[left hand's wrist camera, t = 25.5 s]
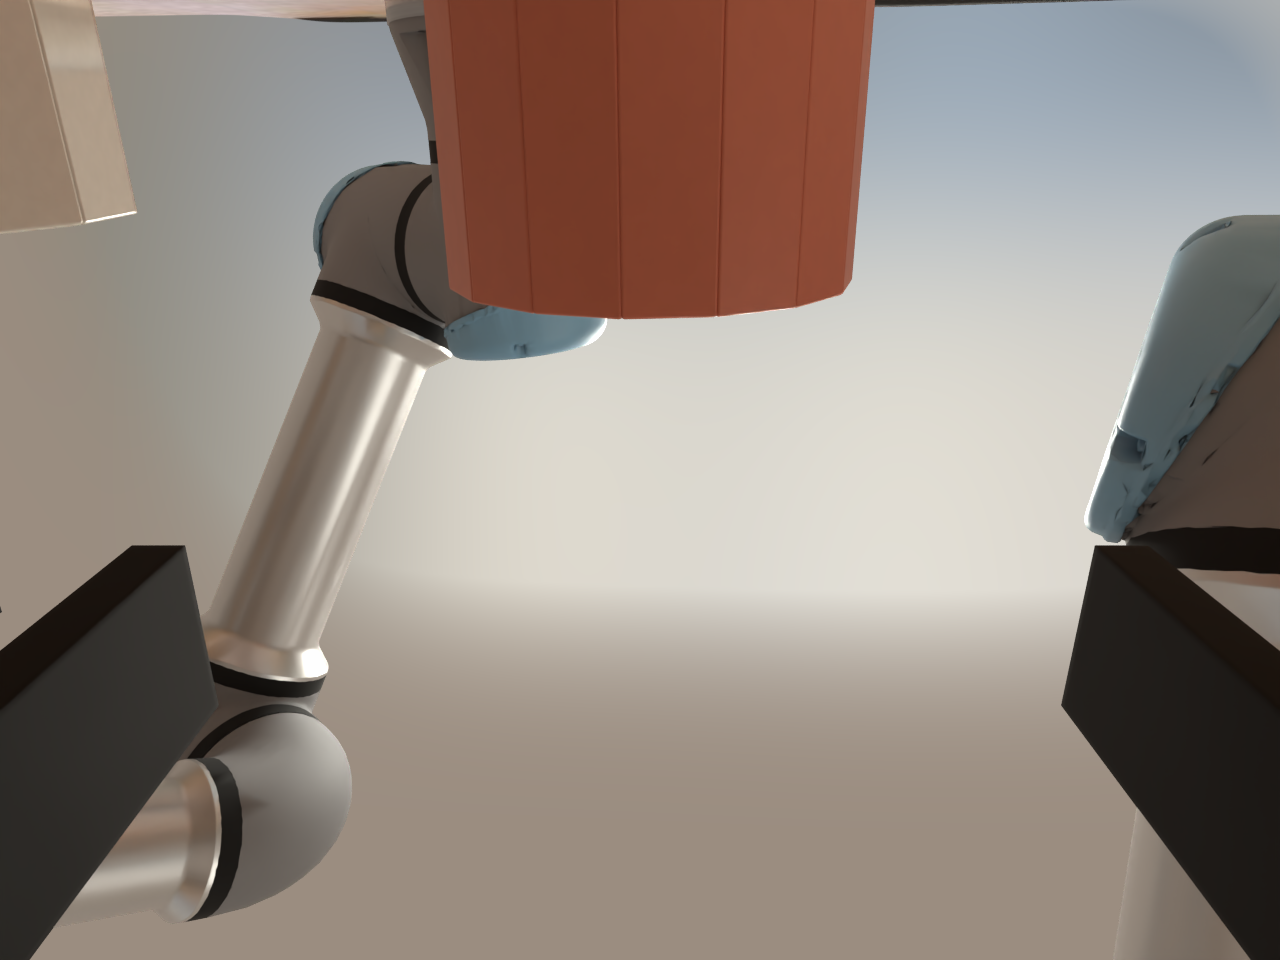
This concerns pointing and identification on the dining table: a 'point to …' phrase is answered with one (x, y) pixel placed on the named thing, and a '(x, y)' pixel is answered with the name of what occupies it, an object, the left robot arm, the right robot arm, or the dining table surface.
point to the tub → (57, 120)
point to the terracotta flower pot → (649, 152)
